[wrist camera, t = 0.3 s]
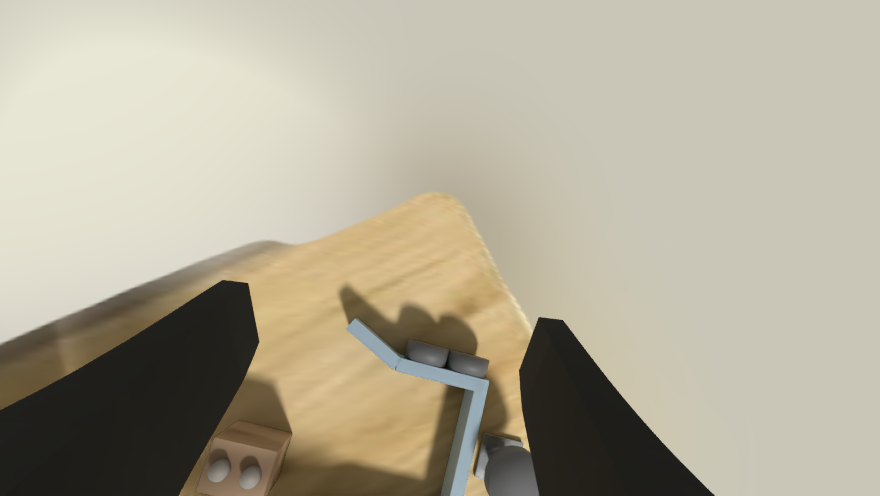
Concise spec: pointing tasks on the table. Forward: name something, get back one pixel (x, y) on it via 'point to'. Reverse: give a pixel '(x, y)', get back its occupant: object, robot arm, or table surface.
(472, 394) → the chassis
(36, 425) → the robot arm
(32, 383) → the table surface
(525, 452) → the spare wheel
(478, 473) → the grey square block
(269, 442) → the wooden block with knobs
